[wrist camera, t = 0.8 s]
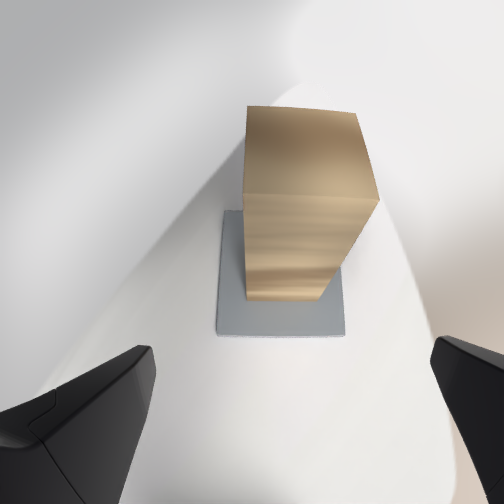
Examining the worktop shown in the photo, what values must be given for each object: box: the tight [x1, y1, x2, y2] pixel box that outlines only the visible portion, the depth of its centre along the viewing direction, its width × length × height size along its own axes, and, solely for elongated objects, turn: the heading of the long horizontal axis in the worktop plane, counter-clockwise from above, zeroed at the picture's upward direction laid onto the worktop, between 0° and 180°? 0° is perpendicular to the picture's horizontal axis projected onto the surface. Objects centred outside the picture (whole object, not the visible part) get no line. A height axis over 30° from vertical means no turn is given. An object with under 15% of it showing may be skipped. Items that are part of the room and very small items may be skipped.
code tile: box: [217, 211, 345, 338], centre depth 23 cm, size 10×9×1 cm
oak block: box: [243, 106, 380, 302], centre depth 17 cm, size 5×5×12 cm
